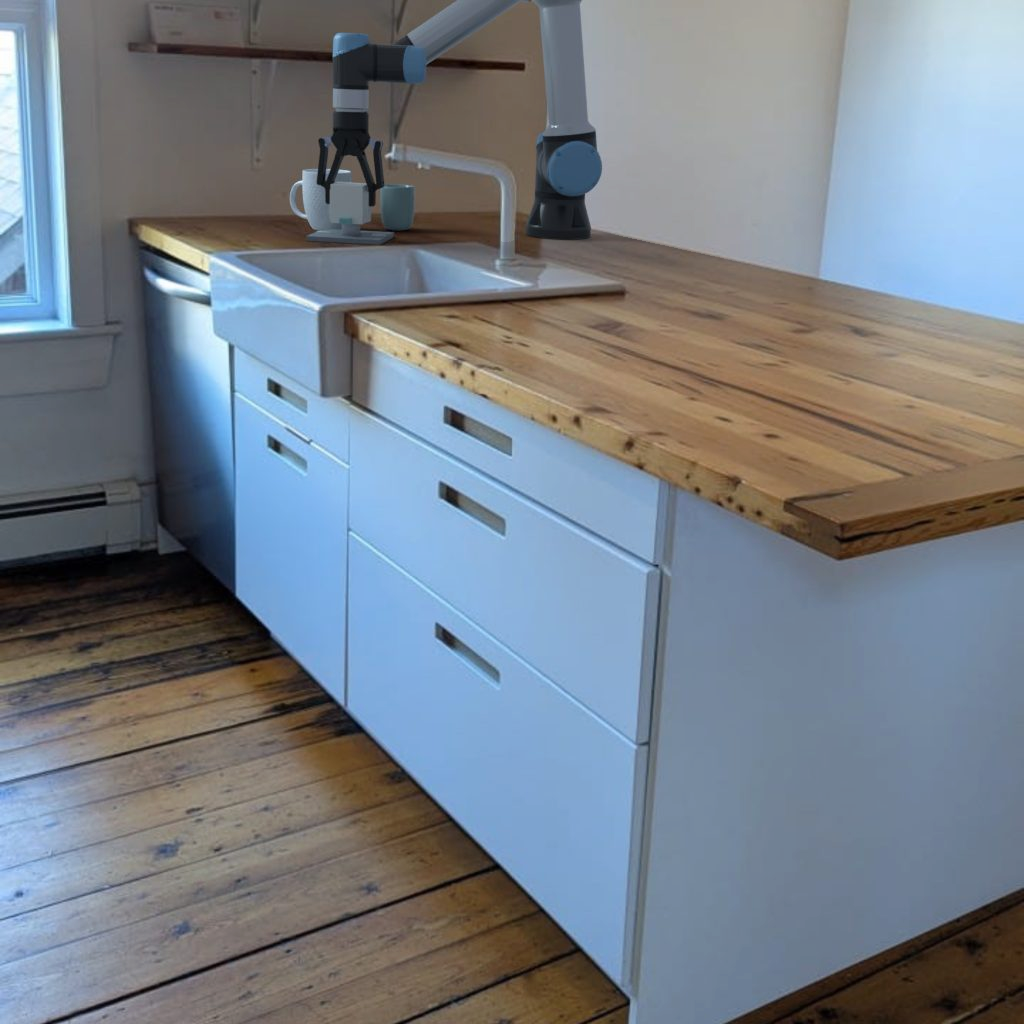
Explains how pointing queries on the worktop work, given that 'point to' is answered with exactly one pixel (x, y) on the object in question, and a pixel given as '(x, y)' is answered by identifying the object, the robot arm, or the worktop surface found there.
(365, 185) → the grey cube
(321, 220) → the mug
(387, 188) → the cup
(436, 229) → the worktop surface
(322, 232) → the post plate
